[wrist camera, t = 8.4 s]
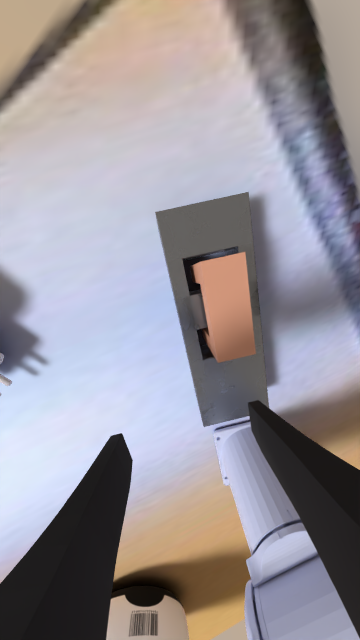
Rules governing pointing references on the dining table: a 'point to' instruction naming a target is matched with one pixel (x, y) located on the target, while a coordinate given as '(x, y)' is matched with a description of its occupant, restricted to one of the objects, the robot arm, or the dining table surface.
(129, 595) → the milk container
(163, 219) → the gray rectangular frame
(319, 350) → the dining table surface
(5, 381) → the charger
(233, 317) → the orange u-shaped block
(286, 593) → the robot arm
